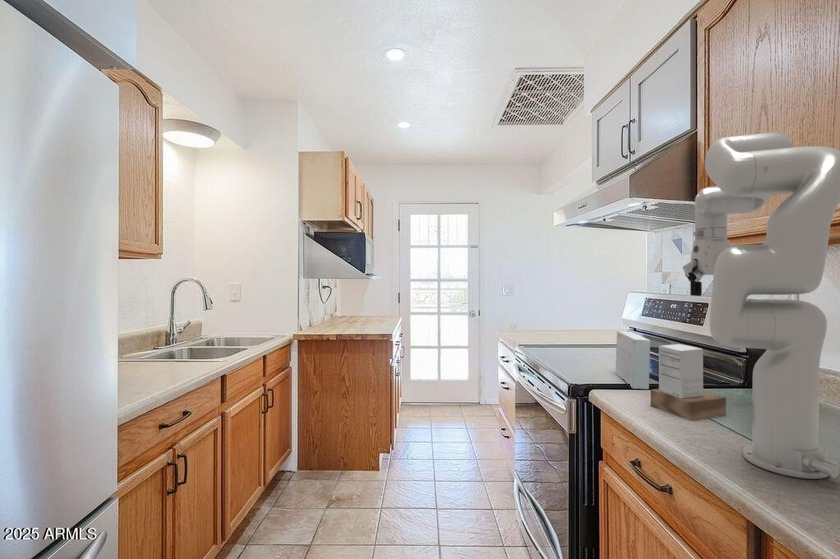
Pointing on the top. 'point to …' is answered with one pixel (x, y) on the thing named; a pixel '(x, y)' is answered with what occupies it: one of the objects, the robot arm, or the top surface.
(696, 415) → the walnut block
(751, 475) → the top surface
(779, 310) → the robot arm
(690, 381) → the supplement box
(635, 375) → the skincare box
